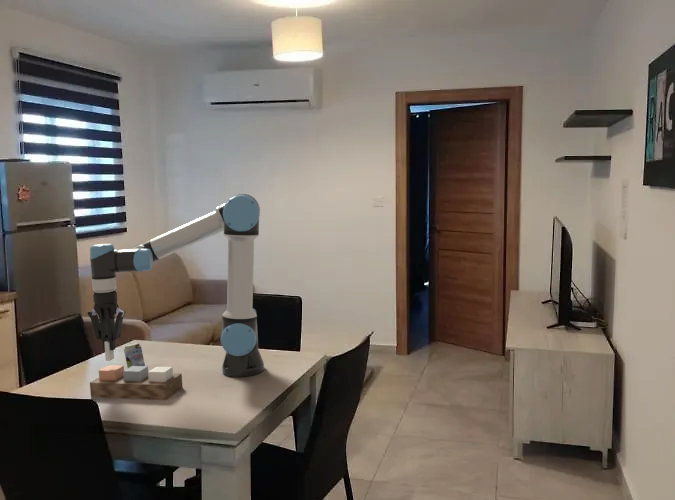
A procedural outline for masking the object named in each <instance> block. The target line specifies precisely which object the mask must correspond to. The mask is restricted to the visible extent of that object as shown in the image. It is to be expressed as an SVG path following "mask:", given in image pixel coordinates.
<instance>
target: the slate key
mask: <svg viewBox="0 0 675 500" xmlns="http://www.w3.org/2000/svg"><path fill="white" fill-rule="evenodd" d="M148 372H149V366H148V365H145V366H131V367H129V368H128V367H127V368H126V369H124V371H123V376H124V381H142V380H143V379H145V378H146V377H148Z"/></svg>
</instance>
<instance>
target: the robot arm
mask: <svg viewBox="0 0 675 500" xmlns="http://www.w3.org/2000/svg"><path fill="white" fill-rule="evenodd" d="M260 208H261V207H260V204H259V203H258V201H257V200H256V198H255V197H253V196H252V195H250V194H246V193H241V194H240V193H239V194H235V195H232V196H231V197H230V198H228V200H227V201H226V202H224V203H223V204H220V205H218V206H217V207H216V208H215V210H213V211H211V212H210V213H207V214H205V215H203V216H200V217H199V218H196V219H194V220H191V221H190V222H188V223H185V224H183V225H180V226H178V227H176V228H174V229H172V230H169V231H167V232H165V233H163V234H160V235H158V236H155V237H154V238H152V239H150V240H147V241H145V242H142V243H140V244H137V245H135V246H134V247H132V248H126V249H115V247H114V245H113V243H98V244H93V245H91V246H90V249H89V252H90V253H89V260H90V271H91V272H90V273H91V286H92V291H94V292H93V293H92V297H93V303H94V305H93V309H91V310H89V311H88V312H87V316H88V317H89V318H90V320H91V325H92V327H93V332H94V334H95V337H96V339H97V340H100V341H101V342H102V343H101V344H102V350H103V351H104V355H105V356H104V357H105V361H108V362H110V361H112V360H114V359H115V351H114V350H116V340H117V339H120V338H121V333H122V328H123V327H122V326H123V321H124V316H125V314H126V310H122V309H121V308H119V305H118V290H116V289H117V287H118V286H117V273H129V272H133V273H134V272H140V273H141V272H149V271H151V270H152V269H153V265H154V264H153V263H154V262H157V261H159V260H160V259H161V260H162V259H163V258H165V257H168V256H169V255H172V254H174V253H176V252H178V251H182V250H184V249H185V248H187V247H190V246H192V245H194V244H196V243H199V242H202V241H204V240H206V239H208V238H210V237H213V236H215V235H217V234H219V233H221V232H223V236H225V237H226V238H227V241H228V242H227V243H228V244H227V284H226V285H227V291H226V293H227V295H226V297H227V298H226V310H225V311H224V312H223V313H222V314H221V315H222V316H221V317H222V318H221V320H222V321H221V322H222V323H221V333H220V338H219V339H220V343H221V346H222V349H223V350H224V352H225V355H224V358H223V362H222V366H221V369H222V374H223V375H225V376H227V377H233V378H239V377H240V378H241V377H242V378H243V377H251V376H255V375H259V374H261V373H263V371H264V370H265V364H264V360H263V357H262V355H261V353H260V350H259V337H258V321H257V320H258V319H257V318H258V315H257V310H256V309H255V308H253V305H254V304H253V303H254V301H253V299H254V298H253V297H254V296H253V293H254V265H255V264H254V259H255V257H254V256H255V255H254V253H255V252H254V251H255V239H256V238H258V236H259V235H260V234H259V233H260V215H261V209H260Z"/></svg>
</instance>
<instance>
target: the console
mask: <svg viewBox="0 0 675 500" xmlns="http://www.w3.org/2000/svg"><path fill="white" fill-rule="evenodd" d="M183 387H184V386H183V375H182V373H179V372H178V373H176V372H175V373H174V372H173V377H172V378H171V379H169V380H168V381H166V382H149V378H148V377H146V378H145V379H143V380H142V381H124V376H122V377H121V378H119V379H117V380H99V377H97V378H96V379H93V380H92V381H89V389H90V390H89V391H90V398H99V397H100V398H99V399H102V398H103V399H104V398H105V399H126V400H127V399H131V400H132V399H133V400H151V401H152V400H156V401H157V400H158V401H167V400H169V398H171V397H173V395H175V394H176V393H177V392H179V391H181V390H182V389H183Z"/></svg>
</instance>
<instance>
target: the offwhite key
mask: <svg viewBox="0 0 675 500" xmlns="http://www.w3.org/2000/svg"><path fill="white" fill-rule="evenodd" d="M173 373H174V371H173V366H155V367H153V368H152V369H150V370H148V378H149V382H166V381H168V380H169V379H171V378H172V377H173Z"/></svg>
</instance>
